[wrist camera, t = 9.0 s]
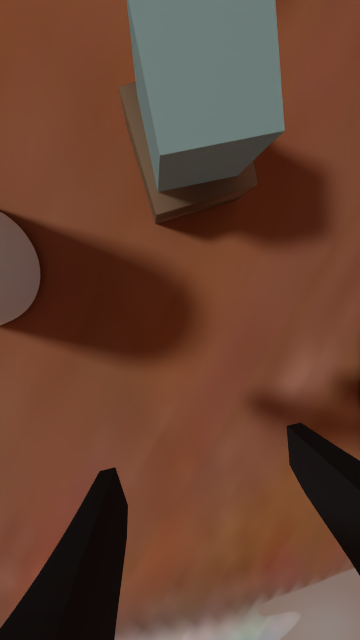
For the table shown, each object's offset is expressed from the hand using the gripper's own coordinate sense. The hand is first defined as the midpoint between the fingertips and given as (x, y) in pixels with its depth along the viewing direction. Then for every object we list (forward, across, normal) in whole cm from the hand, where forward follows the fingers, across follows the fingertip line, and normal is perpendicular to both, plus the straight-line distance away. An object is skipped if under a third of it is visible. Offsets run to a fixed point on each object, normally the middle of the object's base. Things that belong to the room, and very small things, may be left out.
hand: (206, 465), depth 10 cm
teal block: (+7, -3, -14) cm, 16 cm away
